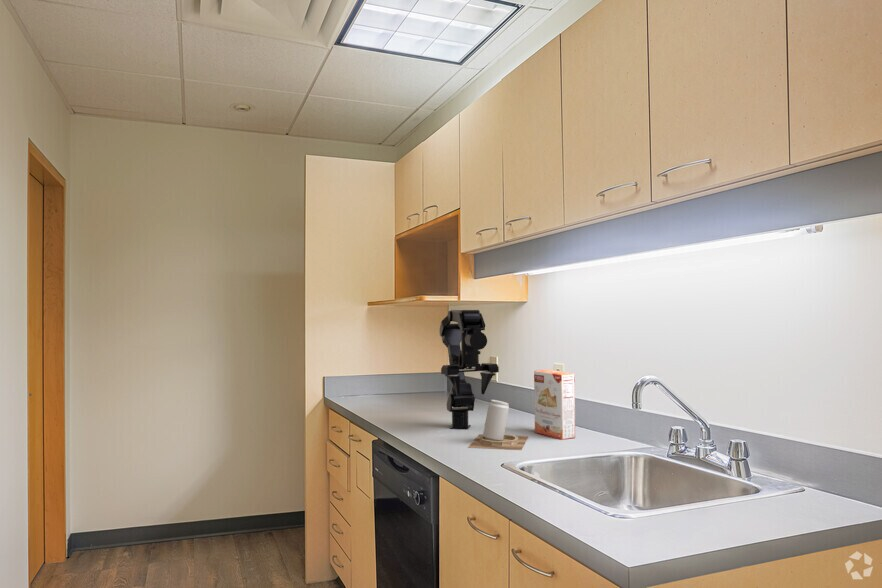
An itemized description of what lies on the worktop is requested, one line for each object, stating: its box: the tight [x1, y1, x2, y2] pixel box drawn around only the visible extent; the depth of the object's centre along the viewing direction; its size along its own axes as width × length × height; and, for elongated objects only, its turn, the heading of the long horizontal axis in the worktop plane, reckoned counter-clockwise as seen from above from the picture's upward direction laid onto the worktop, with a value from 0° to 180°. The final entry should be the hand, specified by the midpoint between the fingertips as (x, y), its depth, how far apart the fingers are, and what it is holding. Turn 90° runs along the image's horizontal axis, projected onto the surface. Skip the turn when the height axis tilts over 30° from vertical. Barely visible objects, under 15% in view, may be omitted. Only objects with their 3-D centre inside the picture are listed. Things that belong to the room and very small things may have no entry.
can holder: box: [467, 433, 529, 451], centre depth 201 cm, size 20×16×2 cm
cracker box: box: [533, 369, 576, 441], centre depth 211 cm, size 14×6×21 cm, turn 30°
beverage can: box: [482, 399, 510, 441], centre depth 201 cm, size 6×6×12 cm
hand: (470, 395), depth 214 cm, fingers open, 9 cm apart
